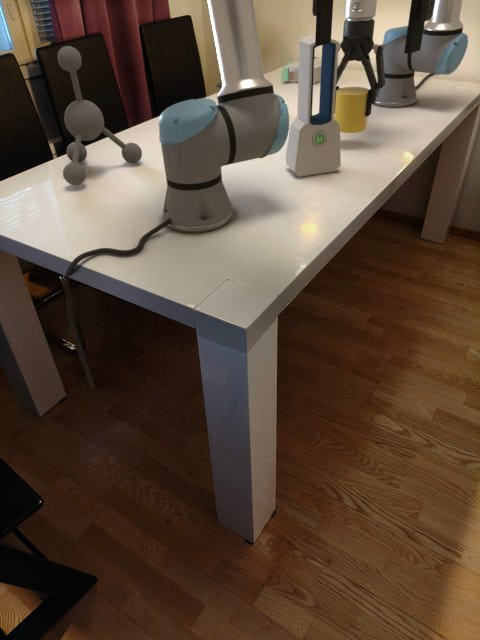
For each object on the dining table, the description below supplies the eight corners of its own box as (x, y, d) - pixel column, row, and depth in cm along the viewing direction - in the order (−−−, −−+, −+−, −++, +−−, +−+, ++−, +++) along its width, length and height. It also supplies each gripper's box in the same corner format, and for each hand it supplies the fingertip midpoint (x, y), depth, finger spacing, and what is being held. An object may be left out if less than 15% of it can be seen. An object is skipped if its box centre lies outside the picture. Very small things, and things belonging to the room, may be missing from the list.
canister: (371, 126, 137) (375, 88, 132) (356, 134, 132) (359, 96, 126) (343, 121, 142) (346, 85, 136) (327, 129, 137) (330, 92, 131)
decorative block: (304, 54, 217) (345, 57, 207) (303, 70, 221) (343, 73, 211) (272, 65, 201) (315, 69, 191) (272, 82, 205) (314, 86, 195)
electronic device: (294, 177, 122) (297, 41, 104) (284, 167, 128) (285, 37, 109) (340, 170, 124) (351, 36, 106) (328, 161, 130) (337, 32, 112)
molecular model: (153, 175, 128) (132, 46, 109) (67, 191, 122) (30, 58, 104) (135, 149, 145) (114, 34, 127) (59, 162, 140) (26, 43, 121)
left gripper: (523, -199, 47) (469, 50, 60) (313, -158, 61) (307, 36, 74) (492, -209, 43) (441, 61, 56) (274, -162, 57) (275, 44, 70)
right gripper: (313, 20, 123) (309, 113, 137) (399, 21, 114) (386, 121, 128) (323, 16, 128) (319, 106, 142) (407, 17, 119) (393, 113, 133)
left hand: (364, 47), depth 65 cm, fingers open, 13 cm apart
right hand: (351, 113), depth 135 cm, fingers closed on canister, 9 cm apart
